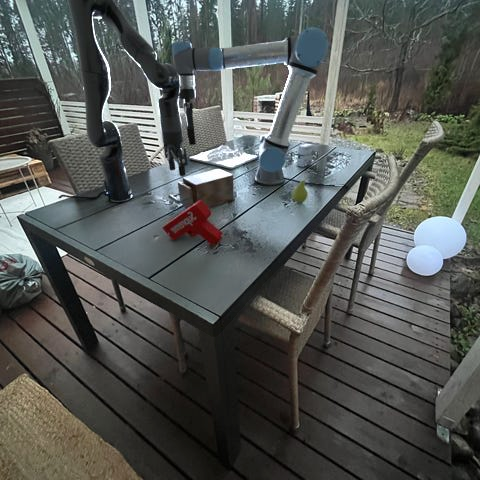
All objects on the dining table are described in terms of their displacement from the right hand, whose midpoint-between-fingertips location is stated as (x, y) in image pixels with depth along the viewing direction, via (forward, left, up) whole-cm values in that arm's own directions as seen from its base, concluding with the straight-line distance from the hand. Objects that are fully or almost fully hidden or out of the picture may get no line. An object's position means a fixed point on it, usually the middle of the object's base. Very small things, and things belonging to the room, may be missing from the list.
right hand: (191, 141), depth 124 cm
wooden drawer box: (-13, +12, -23) cm, 29 cm away
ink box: (-46, -54, -23) cm, 75 cm away
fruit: (-52, +1, -23) cm, 56 cm away
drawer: (-9, +17, -22) cm, 30 cm away
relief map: (+6, -52, -23) cm, 57 cm away
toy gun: (-20, +44, -23) cm, 54 cm away
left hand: (-5, +24, -7) cm, 25 cm away
